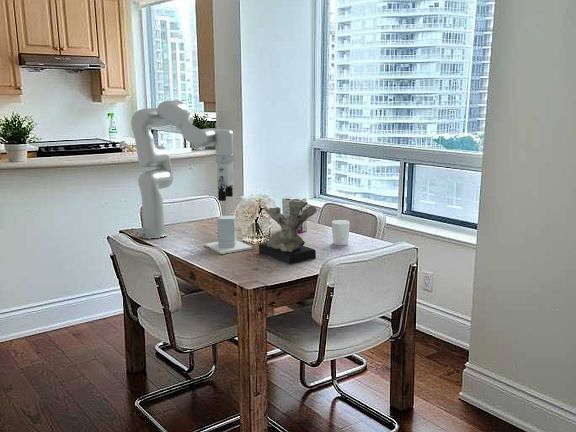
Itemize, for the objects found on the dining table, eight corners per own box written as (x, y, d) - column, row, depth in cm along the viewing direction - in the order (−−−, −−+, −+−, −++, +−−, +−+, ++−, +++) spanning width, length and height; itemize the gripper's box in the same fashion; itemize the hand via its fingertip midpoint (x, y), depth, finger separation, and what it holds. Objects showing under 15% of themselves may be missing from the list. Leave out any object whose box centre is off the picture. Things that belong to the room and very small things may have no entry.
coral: (254, 251, 245) (253, 202, 241) (292, 243, 257) (292, 196, 252) (287, 265, 225) (287, 211, 221) (328, 256, 237) (328, 205, 232)
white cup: (348, 246, 251) (348, 224, 249) (330, 245, 252) (330, 223, 250) (350, 241, 258) (350, 220, 256) (332, 241, 260) (333, 219, 258)
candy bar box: (307, 231, 279) (307, 198, 276) (302, 233, 275) (302, 199, 272) (287, 228, 285) (286, 196, 281) (282, 230, 281) (281, 197, 277)
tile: (221, 254, 240) (221, 252, 240) (204, 246, 254) (204, 243, 254) (252, 249, 248) (252, 246, 248) (233, 240, 262) (233, 238, 262)
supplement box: (234, 247, 248) (233, 219, 245) (217, 247, 248) (216, 219, 245) (237, 243, 255) (236, 215, 252) (220, 242, 255) (219, 215, 253)
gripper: (227, 161, 234) (228, 202, 238) (238, 156, 251) (239, 195, 254) (209, 161, 235) (210, 202, 239) (222, 156, 252) (223, 194, 256)
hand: (225, 198), depth 247 cm, fingers open, 9 cm apart
